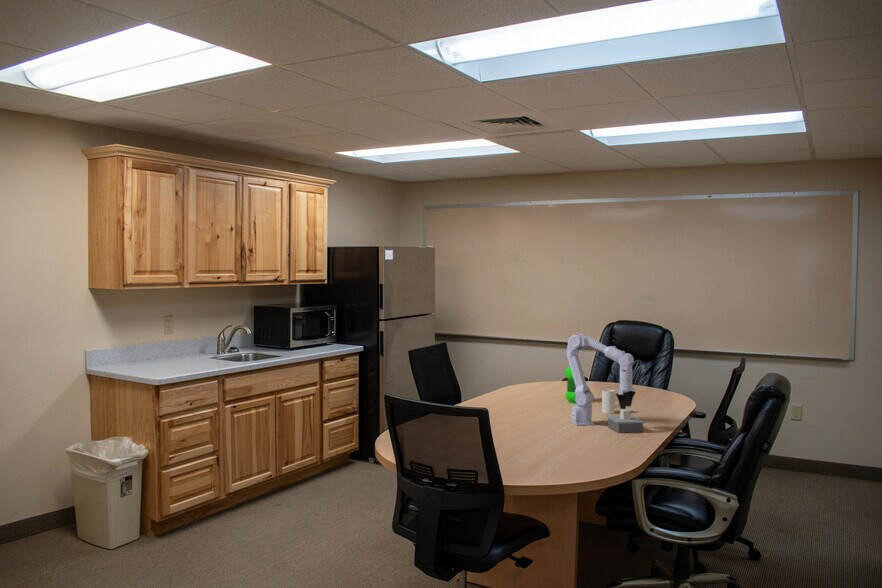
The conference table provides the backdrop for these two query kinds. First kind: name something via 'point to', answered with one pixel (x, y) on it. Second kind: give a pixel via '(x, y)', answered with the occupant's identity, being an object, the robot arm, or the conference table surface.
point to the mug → (608, 401)
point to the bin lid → (625, 418)
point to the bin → (625, 427)
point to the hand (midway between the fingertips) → (625, 407)
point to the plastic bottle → (570, 386)
